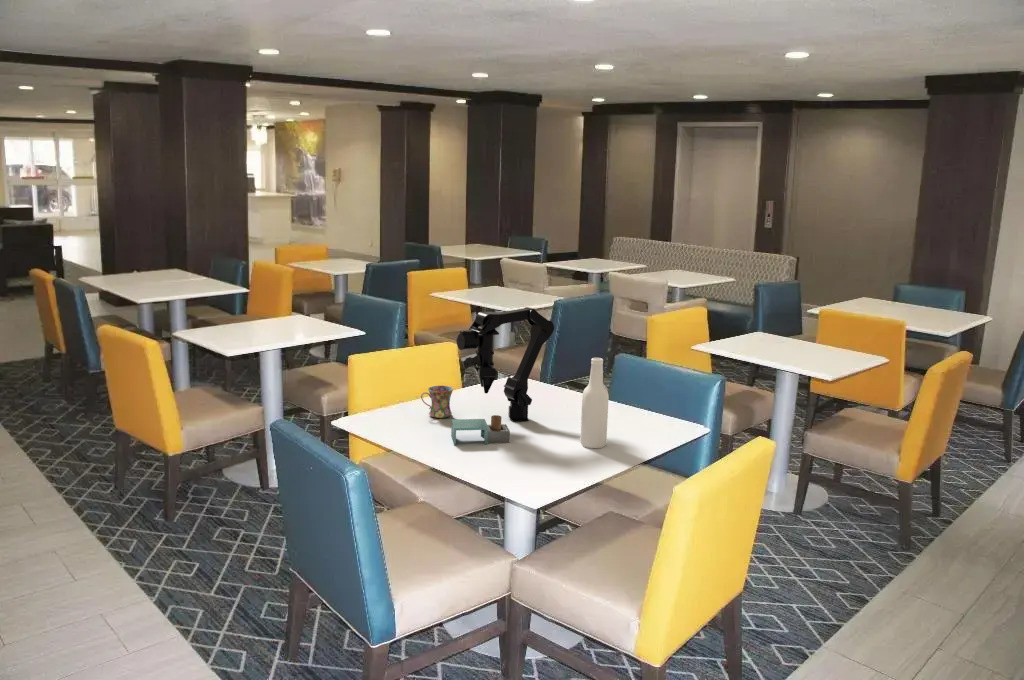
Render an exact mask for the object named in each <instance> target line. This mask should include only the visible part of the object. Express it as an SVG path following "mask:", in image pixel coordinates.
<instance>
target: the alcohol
mask: <svg viewBox="0 0 1024 680" xmlns="http://www.w3.org/2000/svg"><path fill="white" fill-rule="evenodd" d="M590 364H591V366H590V373H589V382H588V385H587V386H586V387H585V388H584V389H583V391H582V395H581V397H582V399H581V417H580V418H581V419H580V420H581V422H580V439H579V440H580V441H579V442H580V444H581V446H582V445H583V446H582V447H584V446H585V447H584V448H586V447H588V449H592V448H598V449H602V447H603V448H604V447H605V446H606V445H607V437H608V436H607V435H608V419H609V415H608V414H609V400H610V399H609V397H610V396H609V392H608V390H607V388H606V387H605V385H604V365H603V364H604V359H603V358H601V357H592V358H591V362H590Z"/></svg>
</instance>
